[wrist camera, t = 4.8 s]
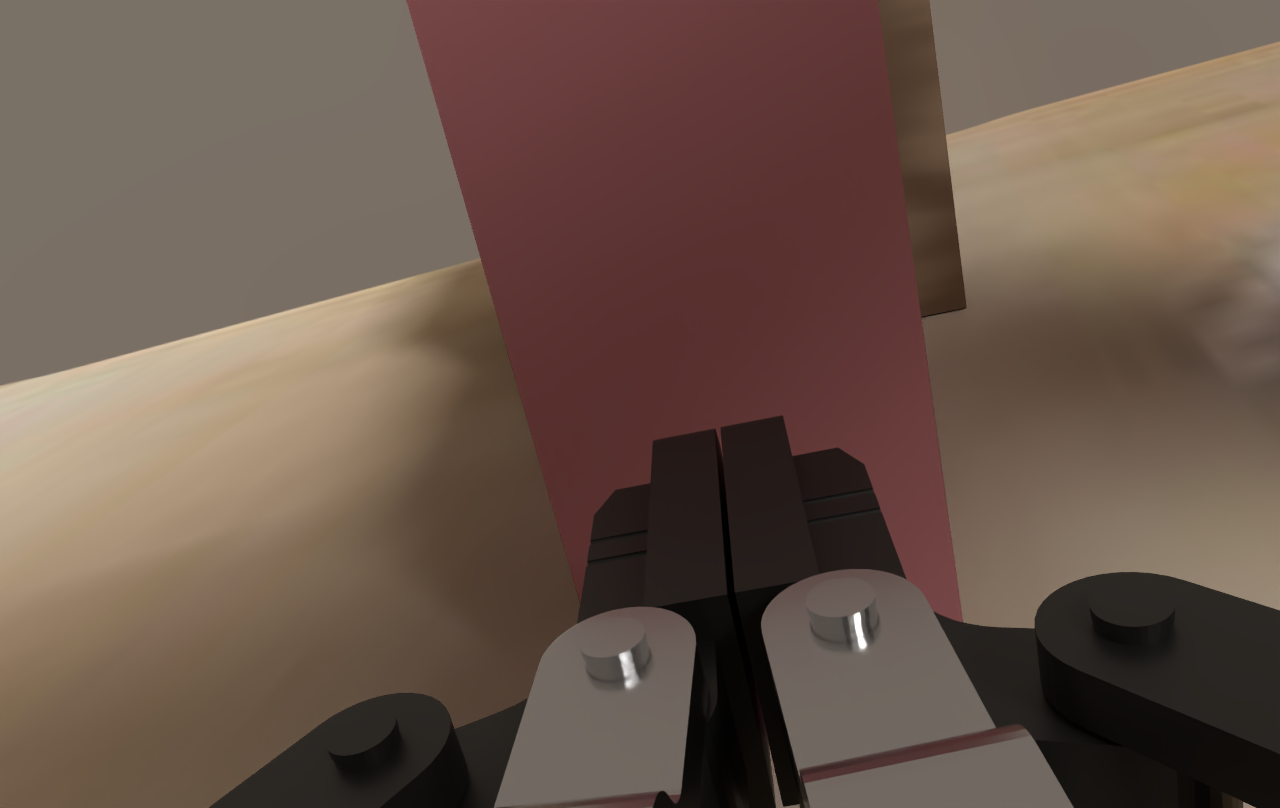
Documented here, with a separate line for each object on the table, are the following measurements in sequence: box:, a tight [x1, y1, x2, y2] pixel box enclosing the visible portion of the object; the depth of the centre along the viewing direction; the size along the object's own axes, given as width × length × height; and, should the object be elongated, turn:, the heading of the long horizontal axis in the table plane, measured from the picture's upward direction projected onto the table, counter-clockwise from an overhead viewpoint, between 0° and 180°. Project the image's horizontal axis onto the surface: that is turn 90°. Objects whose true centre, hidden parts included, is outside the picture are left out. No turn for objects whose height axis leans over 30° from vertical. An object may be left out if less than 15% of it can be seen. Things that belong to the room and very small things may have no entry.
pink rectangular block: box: [407, 0, 963, 622], centre depth 24 cm, size 6×16×13 cm, turn 178°
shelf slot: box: [878, 0, 966, 317], centre depth 40 cm, size 15×13×11 cm
